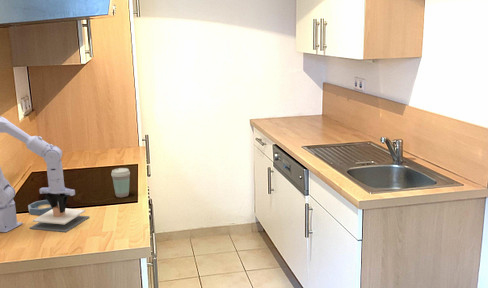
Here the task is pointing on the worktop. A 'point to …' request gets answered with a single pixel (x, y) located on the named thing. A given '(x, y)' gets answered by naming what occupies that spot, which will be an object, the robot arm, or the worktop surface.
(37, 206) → the dish
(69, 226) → the mat
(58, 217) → the lid
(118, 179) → the coffee cup
